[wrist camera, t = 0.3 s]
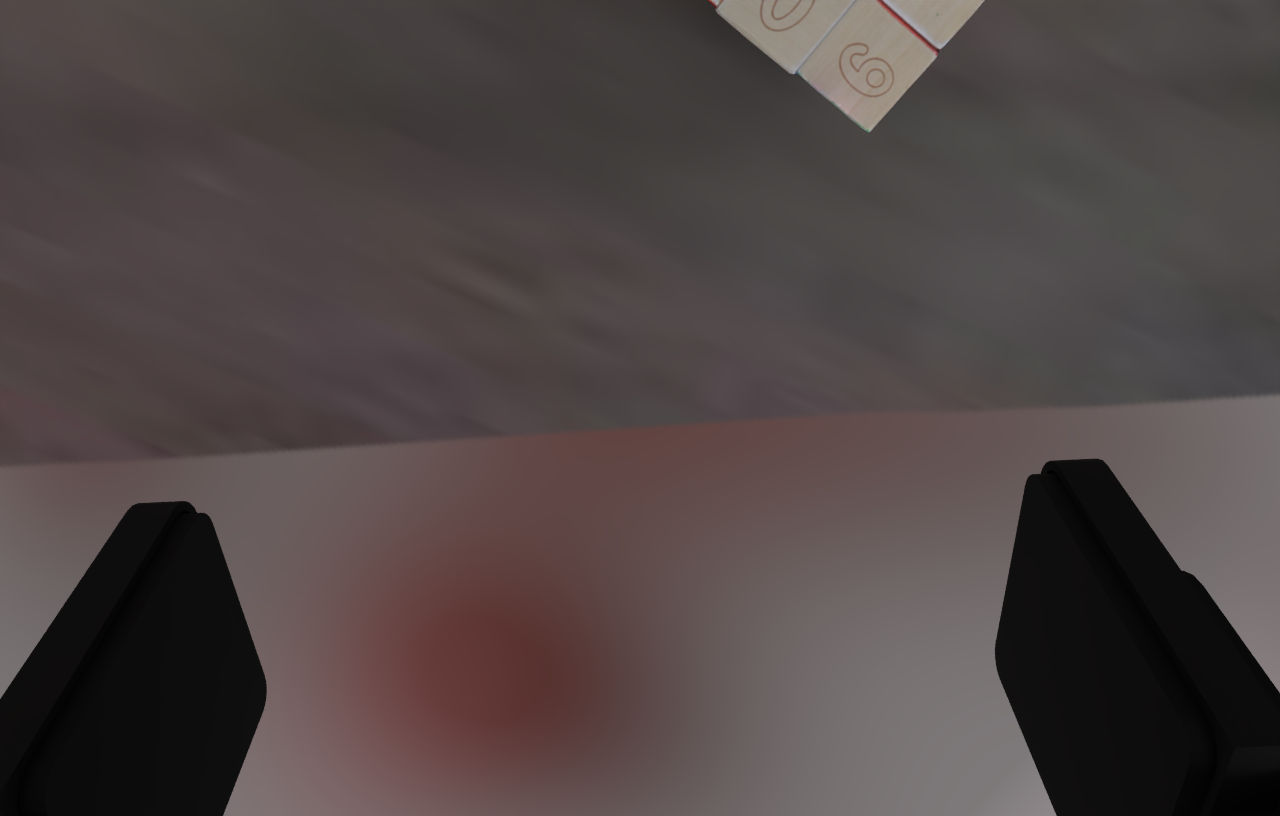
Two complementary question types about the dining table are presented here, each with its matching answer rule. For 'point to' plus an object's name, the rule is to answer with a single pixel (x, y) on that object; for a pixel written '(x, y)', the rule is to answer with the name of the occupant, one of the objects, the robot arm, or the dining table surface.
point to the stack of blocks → (851, 44)
